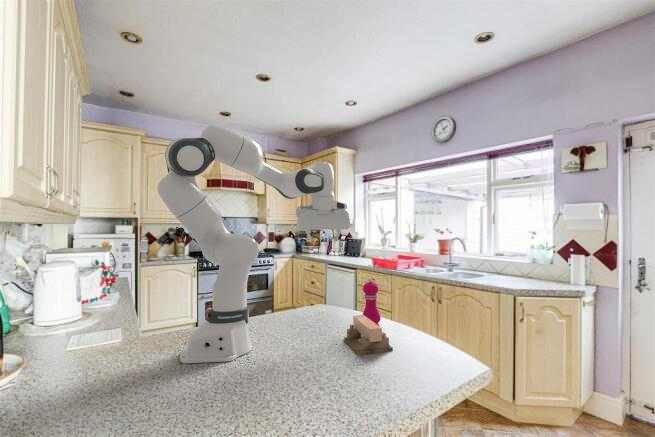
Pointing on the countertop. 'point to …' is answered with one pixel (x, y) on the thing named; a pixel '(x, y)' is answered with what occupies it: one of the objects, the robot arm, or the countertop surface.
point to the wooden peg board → (366, 342)
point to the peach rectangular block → (367, 328)
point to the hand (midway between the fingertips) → (323, 241)
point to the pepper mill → (371, 301)
